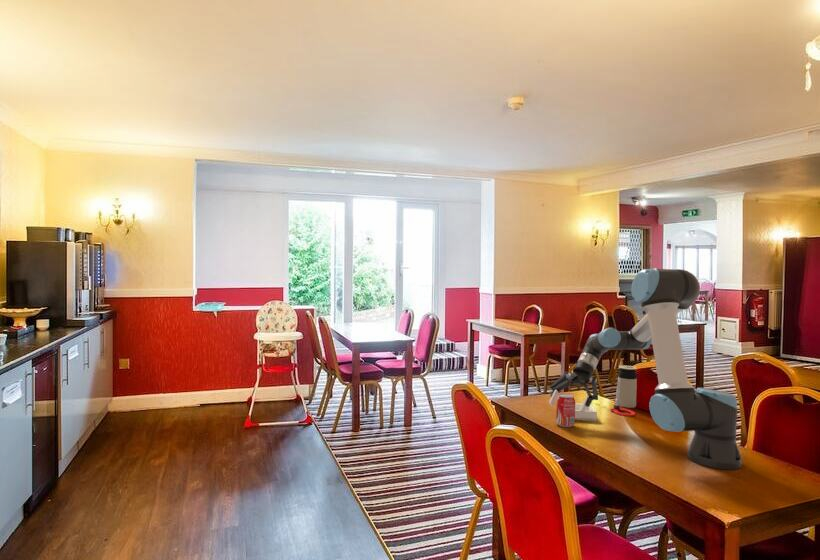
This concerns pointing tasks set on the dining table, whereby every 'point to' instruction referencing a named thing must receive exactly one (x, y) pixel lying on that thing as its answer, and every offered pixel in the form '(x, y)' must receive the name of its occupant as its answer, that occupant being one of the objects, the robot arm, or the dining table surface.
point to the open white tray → (588, 415)
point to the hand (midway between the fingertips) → (565, 408)
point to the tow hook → (617, 407)
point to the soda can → (565, 410)
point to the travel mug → (627, 386)
